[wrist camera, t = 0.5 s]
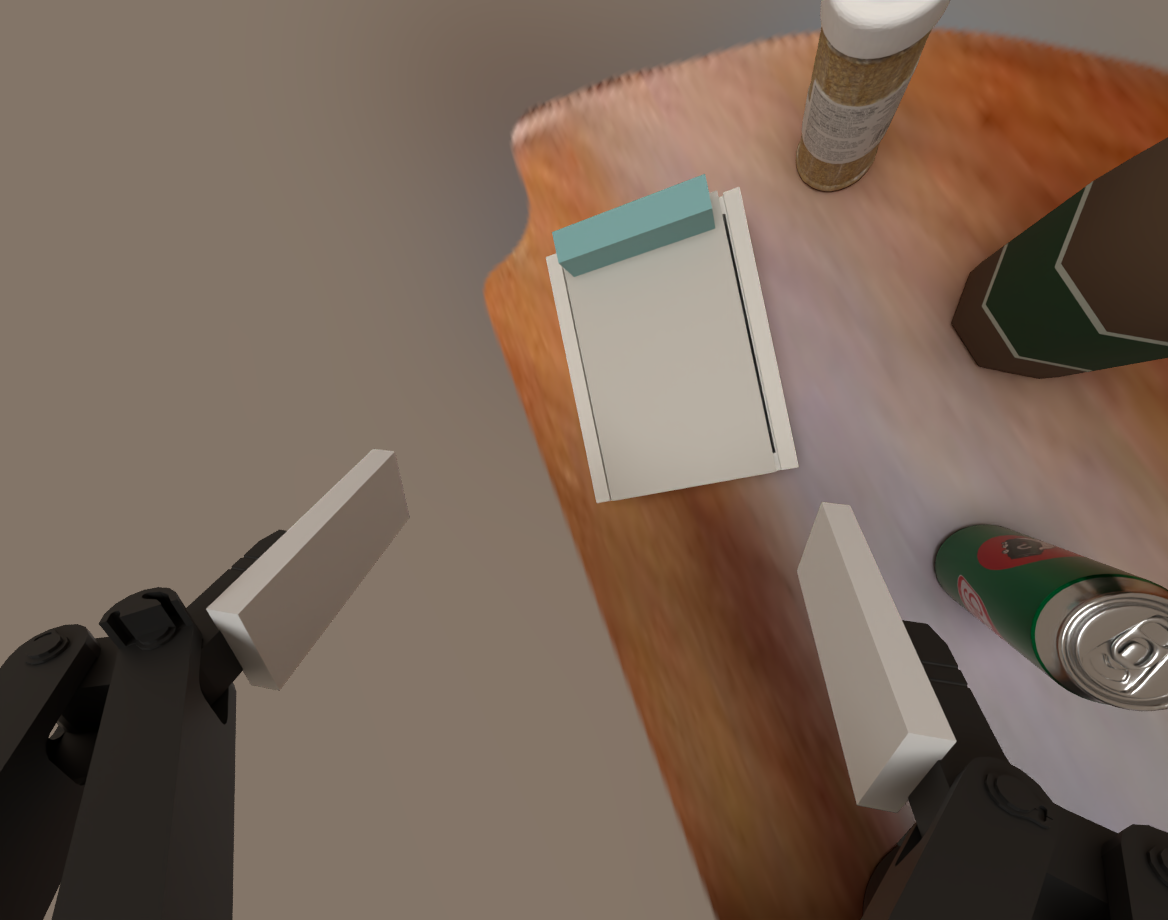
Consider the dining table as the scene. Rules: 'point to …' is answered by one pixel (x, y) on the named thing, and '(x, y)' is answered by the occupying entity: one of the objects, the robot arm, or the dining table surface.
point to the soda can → (1064, 613)
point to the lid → (665, 343)
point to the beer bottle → (1078, 281)
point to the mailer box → (756, 335)
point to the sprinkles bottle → (859, 83)
